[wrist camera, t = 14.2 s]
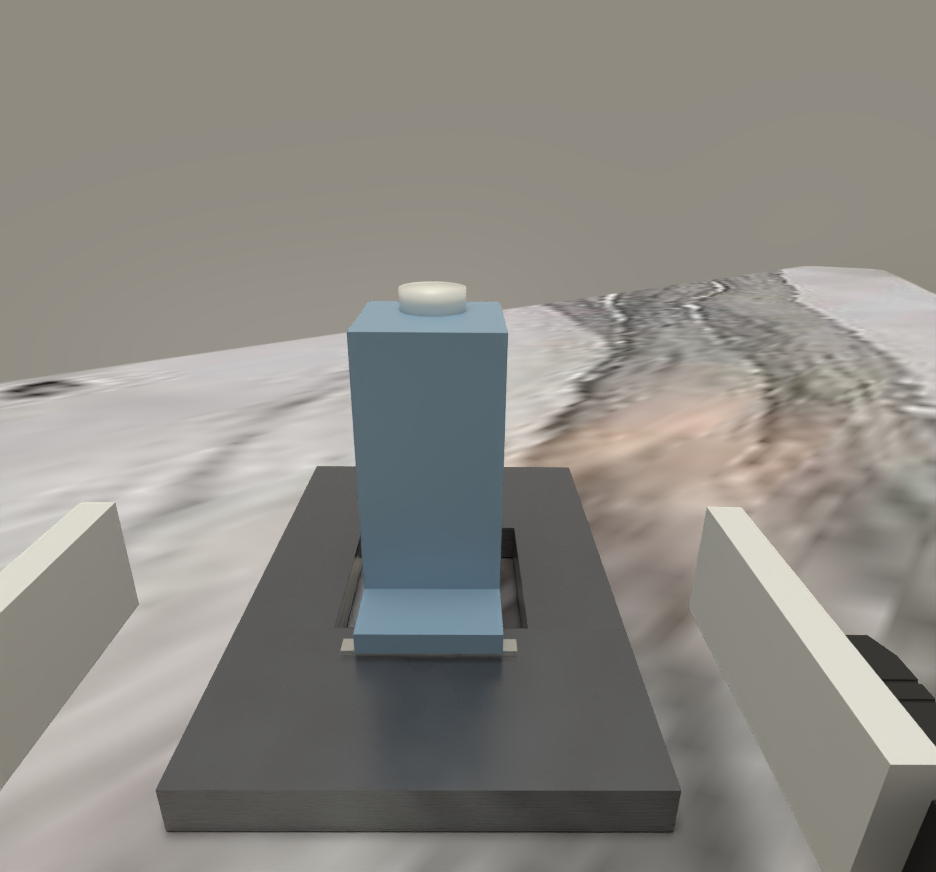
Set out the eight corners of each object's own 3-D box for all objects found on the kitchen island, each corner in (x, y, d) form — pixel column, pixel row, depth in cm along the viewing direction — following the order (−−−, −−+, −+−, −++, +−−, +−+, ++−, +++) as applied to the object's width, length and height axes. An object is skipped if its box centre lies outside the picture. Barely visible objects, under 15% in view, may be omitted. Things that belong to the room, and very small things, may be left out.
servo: (501, 690, 22) (514, 325, 17) (357, 689, 22) (329, 324, 17) (490, 536, 31) (497, 271, 26) (389, 536, 31) (376, 270, 26)
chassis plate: (673, 831, 18) (682, 785, 17) (166, 830, 18) (154, 784, 17) (566, 492, 36) (568, 464, 35) (319, 491, 36) (316, 463, 35)
